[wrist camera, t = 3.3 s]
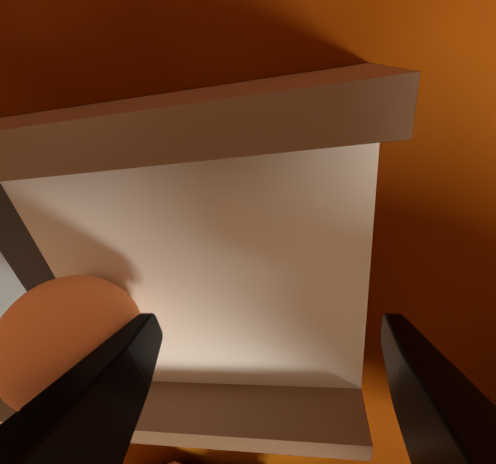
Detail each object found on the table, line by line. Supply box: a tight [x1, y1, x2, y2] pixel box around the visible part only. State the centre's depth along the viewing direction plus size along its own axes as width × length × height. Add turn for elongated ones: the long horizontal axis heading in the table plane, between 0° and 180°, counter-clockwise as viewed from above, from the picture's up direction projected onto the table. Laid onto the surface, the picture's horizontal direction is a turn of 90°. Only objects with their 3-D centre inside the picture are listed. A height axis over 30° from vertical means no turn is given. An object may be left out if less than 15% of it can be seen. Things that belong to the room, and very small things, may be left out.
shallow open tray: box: [0, 63, 420, 461], centre depth 10 cm, size 19×12×4 cm, turn 98°
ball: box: [0, 275, 140, 411], centre depth 9 cm, size 4×4×4 cm
